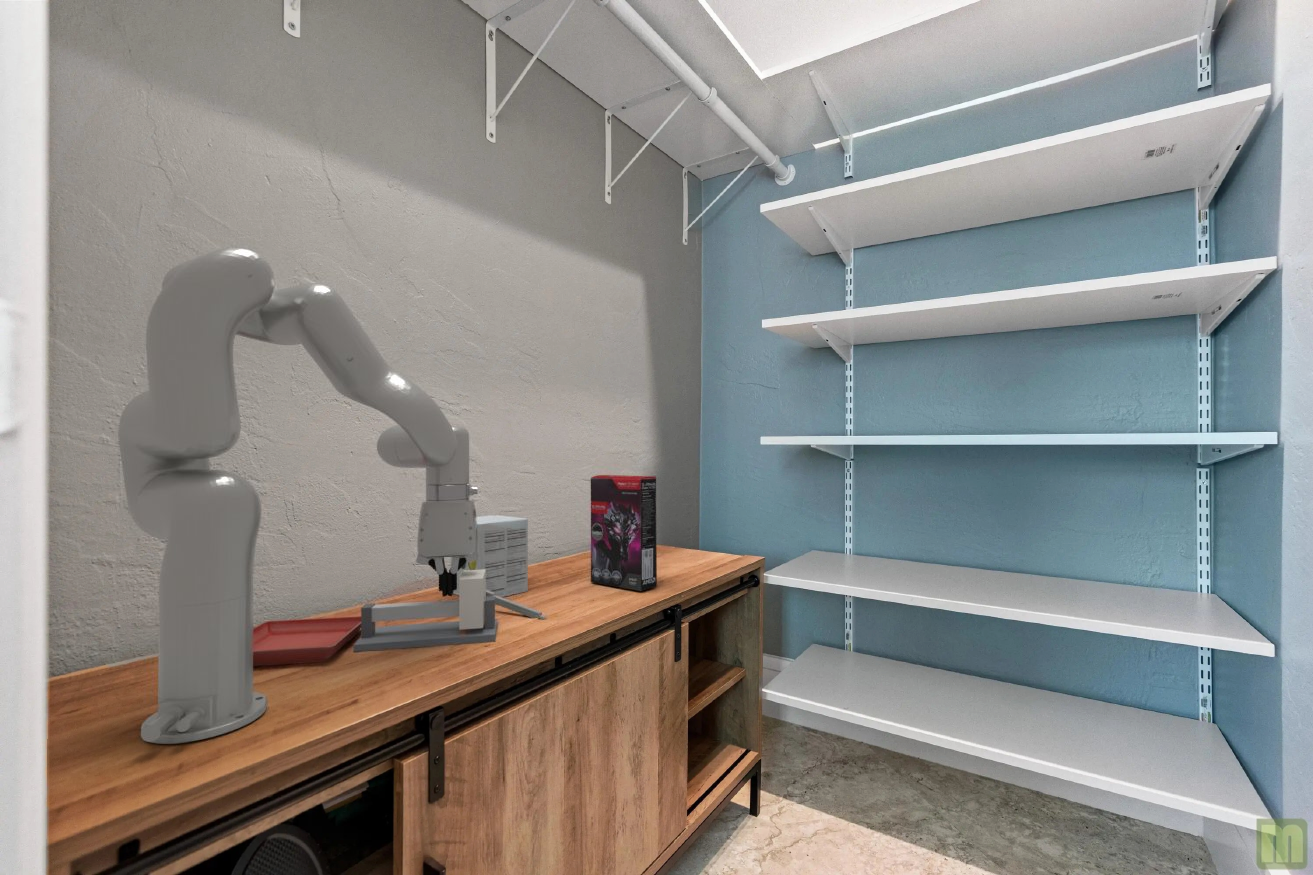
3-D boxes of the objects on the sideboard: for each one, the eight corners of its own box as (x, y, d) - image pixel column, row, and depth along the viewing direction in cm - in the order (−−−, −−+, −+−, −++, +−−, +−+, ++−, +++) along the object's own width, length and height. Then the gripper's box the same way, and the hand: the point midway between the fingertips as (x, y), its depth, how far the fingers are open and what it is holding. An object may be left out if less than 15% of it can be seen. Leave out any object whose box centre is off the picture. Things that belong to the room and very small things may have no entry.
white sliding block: (482, 627, 105) (482, 578, 105) (459, 629, 104) (459, 579, 104) (485, 615, 113) (485, 569, 113) (463, 616, 112) (463, 570, 112)
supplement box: (448, 593, 139) (448, 519, 139) (496, 583, 149) (496, 514, 149) (481, 602, 130) (481, 523, 131) (529, 591, 140) (529, 518, 141)
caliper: (465, 609, 126) (465, 580, 126) (469, 608, 127) (468, 579, 127) (543, 621, 117) (543, 589, 117) (547, 619, 118) (546, 588, 118)
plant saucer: (265, 637, 108) (265, 619, 108) (369, 631, 111) (369, 614, 111) (206, 675, 90) (207, 653, 90) (333, 667, 93) (333, 646, 93)
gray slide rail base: (495, 641, 104) (494, 604, 104) (353, 651, 99) (353, 613, 99) (497, 624, 114) (497, 591, 114) (368, 633, 109) (368, 598, 109)
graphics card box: (588, 583, 148) (587, 475, 149) (606, 578, 154) (606, 474, 154) (641, 593, 138) (640, 477, 138) (659, 587, 143) (658, 475, 144)
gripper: (491, 491, 113) (491, 587, 113) (408, 493, 110) (408, 592, 109) (489, 494, 106) (489, 597, 105) (399, 496, 102) (399, 602, 102)
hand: (447, 594), depth 107 cm, fingers closed
